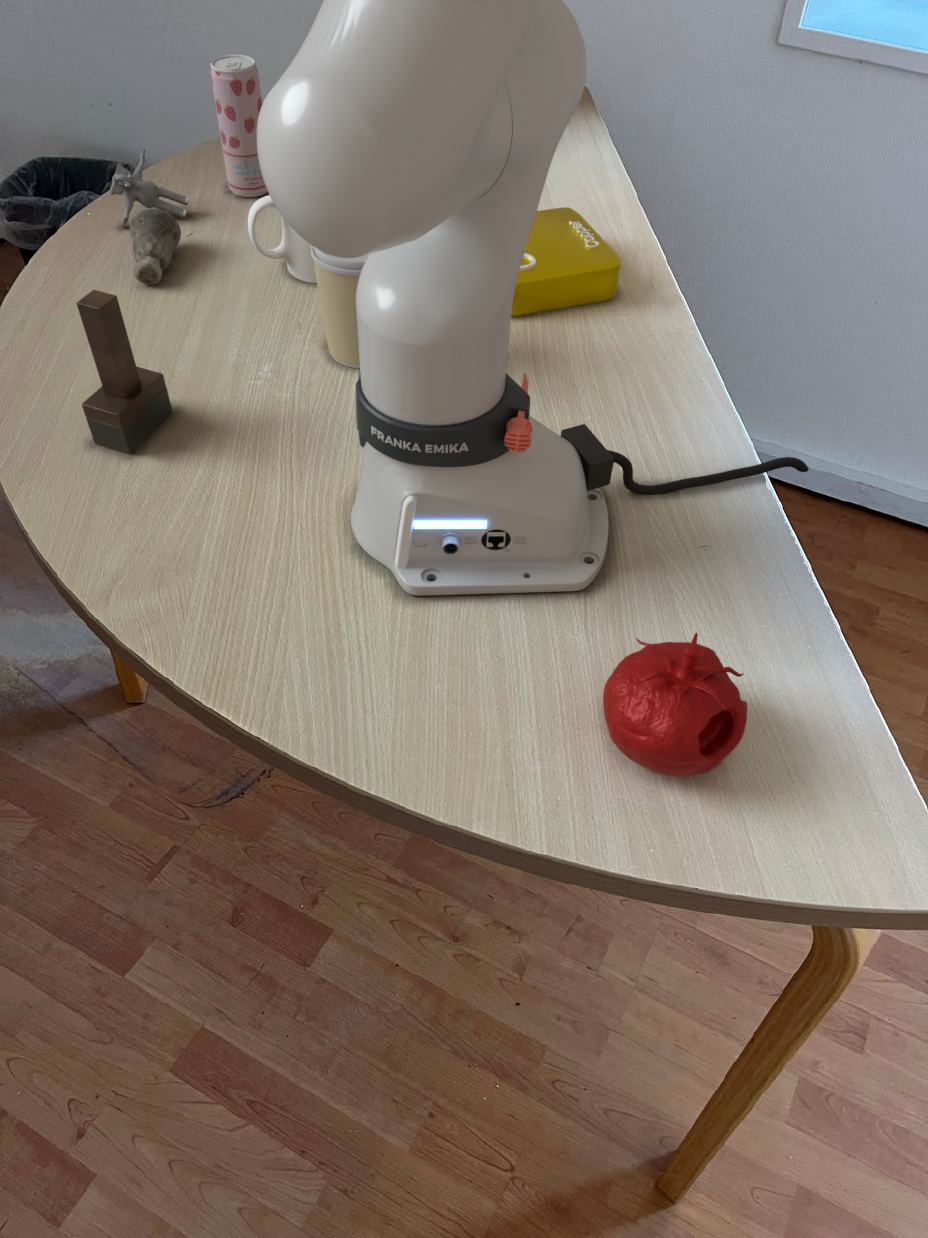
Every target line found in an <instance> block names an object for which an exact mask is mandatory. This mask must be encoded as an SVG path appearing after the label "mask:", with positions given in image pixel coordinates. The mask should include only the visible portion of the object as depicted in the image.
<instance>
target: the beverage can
mask: <svg viewBox="0 0 928 1238" xmlns="http://www.w3.org/2000/svg"><path fill="white" fill-rule="evenodd" d="M210 77H211V84H212V90H213V97H214V103H215V110H216V117H217V121H218V128H219V135H220V141H221V147H222V154H223V160H224V167H225V174H226V180H227V185H228V189H229V190H230V191H231V192H232V193H233V194H234V195H236V196H238V197H243V198H257V197H260V196H264V195H266V194H267V193H269V192H268V190H267V188H266V185H265V182H264V180H263V177H262V173H261V169H260V165H259V160H258V153H257V123H258V117H259V113H260V110H261V107H262V104H263V99H262V90H261V83H260V76H259V70H258V67H257V63H256V61H255V59H253V58H252V57H250V56H249V55H243V54H225V55H221V56H217V57H215V58H214V59H212V60H211V62H210Z"/></svg>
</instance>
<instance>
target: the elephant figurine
mask: <svg viewBox="0 0 928 1238" xmlns="http://www.w3.org/2000/svg"><path fill="white" fill-rule="evenodd" d="M145 156H146V150H145V148H142V151H141V153H140V157H139V162H138V165H137V167H136V168H135V169H134V171H133V172H132V174H131V172H130V170H129V169H127V168H126V167H124V166H123V165H122V163H121V162H119V163H117V165H116V168H115V171H114V174H113V176H112V182H111V186H110V188H109V194H110V196H114V195H120V196H121V195H122V196H124V215H123V218H122V224H121V228H125V227H126V225H127V223H128V221H129V217H130V213H131V211H132V209H133V207H134V203H135V202H138V203H139V204H140V205H142V206H143V207H145V208H146V209H154V208H155V209H158V210H163V211H166V212H167V213H170V214H172V215H175V216H177V217H179V218H181V219H185V218H186V217H187V216H186V215H187V211H188V209H186V208H182V207H180V206H177V205H175V204H172V203H169V202H167V201H164V200H162V199H160V197H161V198H164V199H167V200H170V201H173V202H176V203H178V204H181V205H183V206H186V207H187V206H188V204H189V200H190V197H189V196H187V195H184V194H180V193H177V192H174V191H172V190H170V189H167V188H164V187H160V186H158V185H156V183H155V182H153V181H151V180H143V167H144V165H145V162H146V159H145Z"/></svg>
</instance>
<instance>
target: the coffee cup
mask: <svg viewBox="0 0 928 1238" xmlns="http://www.w3.org/2000/svg"><path fill="white" fill-rule="evenodd" d="M311 255H312V258H313V260H314V268H315V274H316V280H317V283H316V286H317V292H318V297H319V303H320V309H321V315H322V321H323V326H324V332H325V339H326V343H327V347H328V352H329V354H330V356H331V357H332V358H333V360H335V361H336V362H337V363H338V364H340V365H342V366H345V367H348V368H353V369H359V370H360V359H359V343H358V328H357V313H356V290H357V285H358V281H359V277H360V274H361V271H362V268H363V266H364V263H365V261H366V259H367V258H368V256H369V254H368V255H364V256H361V257H356V258H341V257H336V256H333V255H330V254H327V253H325V252H323V251H321V250H319V249H317V248H316V247H314V246H312V245H311Z"/></svg>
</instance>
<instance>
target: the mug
mask: <svg viewBox="0 0 928 1238" xmlns="http://www.w3.org/2000/svg"><path fill="white" fill-rule="evenodd" d="M271 207H272V208H276V206H275V204H274V202H273V201H272V199H271V197H270V195H269V194H268V195H265V196H263V197H260V198H259V199H257V200H256V201H255V202H254V203H253V204H252V206H251V207H250V209H249V211H248V215H247V231H248V236H249V238H250V241H251V242H252V243H251V244H252V245H253V246H254V248H255V249H256V250H257V251H258V252H259V253H260V254H261V255H263V256H264V257H267V258H270V259H273V260H283V259H284V260H286V265H287V270H288V272H289V274H290V275H291V276H292V277H294V278H295V279H297V280H300V281H303V282H305V283H306V282H307V283H311V284H317V280H316V274H315V268H314V260H313V258H312V255H311V244H310V243H308V242H307V241H306V240H304V239H303V238H302V237H301V236H300V235H298V234H297V233H296V232H295V231H294V230H293V229H292V228H291V226H290V225H289V224H288V223H287V222H286V221H285V219H284V218H283V217H282V215H281V214H280V213H279V215H280V220H281V232H282V235H281V240H280V243H279V245H278V246H277V247H275V248H266V247H264V246H262V245H261V244H260V243H259V241H258V239H257V235H256V221H257V218H258V216H259V214H260V213H261V212H262V211H264V210H265V209H268V208H271Z"/></svg>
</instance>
